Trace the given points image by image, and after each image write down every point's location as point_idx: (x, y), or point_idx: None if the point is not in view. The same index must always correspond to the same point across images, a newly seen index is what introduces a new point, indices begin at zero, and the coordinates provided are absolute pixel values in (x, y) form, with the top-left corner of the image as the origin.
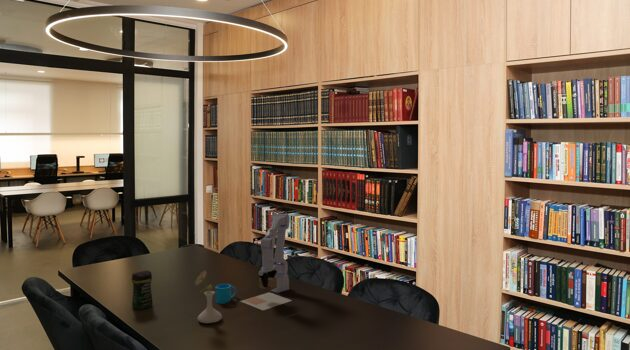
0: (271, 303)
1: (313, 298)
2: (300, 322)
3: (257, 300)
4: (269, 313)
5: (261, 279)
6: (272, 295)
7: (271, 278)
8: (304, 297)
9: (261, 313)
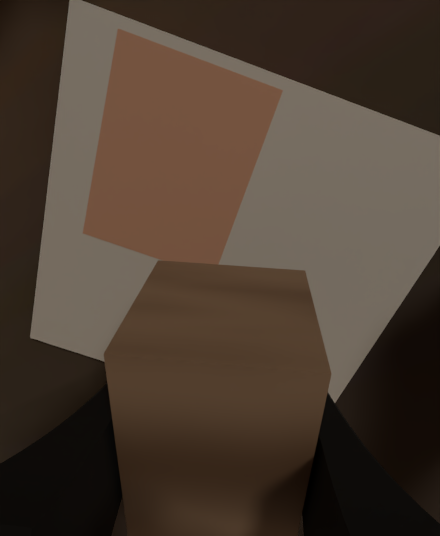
0: None
1: (426, 507)
2: None
3: (191, 181)
4: (38, 379)
5: (49, 441)
6: (391, 246)
7: (239, 523)
8: (434, 461)
9: (3, 336)
